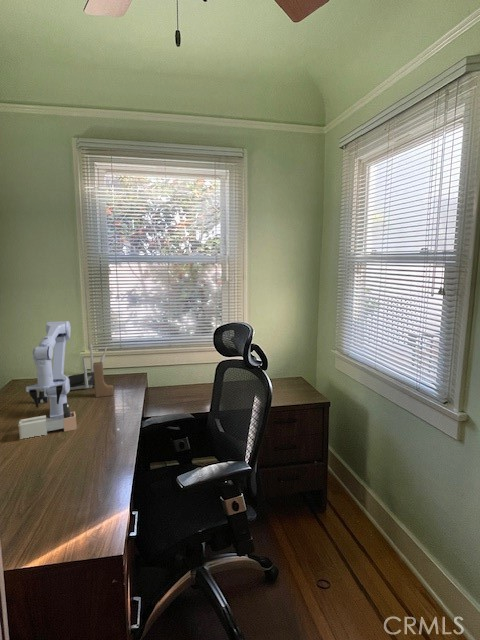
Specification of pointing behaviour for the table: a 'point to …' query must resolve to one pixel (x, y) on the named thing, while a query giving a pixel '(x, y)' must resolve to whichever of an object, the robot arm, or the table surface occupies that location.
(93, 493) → the table surface
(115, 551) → the table surface
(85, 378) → the wireless router
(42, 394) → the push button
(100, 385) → the wooden block
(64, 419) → the socket
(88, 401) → the table surface
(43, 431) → the white channel beam
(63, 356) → the robot arm
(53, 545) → the table surface
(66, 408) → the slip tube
